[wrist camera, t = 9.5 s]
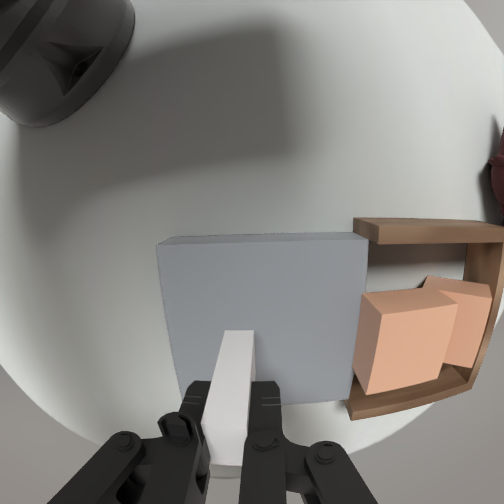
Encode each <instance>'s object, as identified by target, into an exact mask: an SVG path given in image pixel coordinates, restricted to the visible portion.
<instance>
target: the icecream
mask: <svg viewBox="0 0 504 504" xmlns="http://www.w3.org/2000/svg"><path fill="white" fill-rule="evenodd" d="M488 162H489V163H490V164H491V165H492V170H491V187H492V190H493V191H494V194H495V197H496V199H497V201H498V203H499V204H500V206H501V207H500V211H501V213H502V215H503V216H504V128H503V133H502V138H501V142H500V146H499V150H498V154H497V155H496V156H495V158H490V159H489V160H488ZM502 226H503V227H504V219H503V223H502Z"/></svg>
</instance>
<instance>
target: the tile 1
mask: <svg viewBox="0 0 504 504" xmlns="http://www.w3.org/2000/svg"><path fill="white" fill-rule="evenodd" d="M457 308H458V303H457V302H455V301H454V300H452V299H451V298H449V297H448V296H446V295H445V294H443V293H441V292H440V291H438V290H437V289H435V288H433V287H424V288H415V289H405V290H394V291H383V292H371V293H362V295H361V305H360V314H359V323H358V331H357V338H356V345H355V351H354V358H353V364H352V368H353V370H354V372H355V374H356V376H357V378H358V380H359V382H360V384H361V386H362V388H363V390H364V392H365V394H366V395H369V394H375V393H380V392H385V391H390V390H394V389H399V388H403V387H407V386H411V385H415V384H419V383H423V382H426V381H430V380H434V379H437V378H438V375H439V372H440V369H441V367H442V363H443V360H444V357H445V354H446V351H447V347H448V344H449V340H450V337H451V333H452V329H453V325H454V321H455V317H456V313H457Z"/></svg>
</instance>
